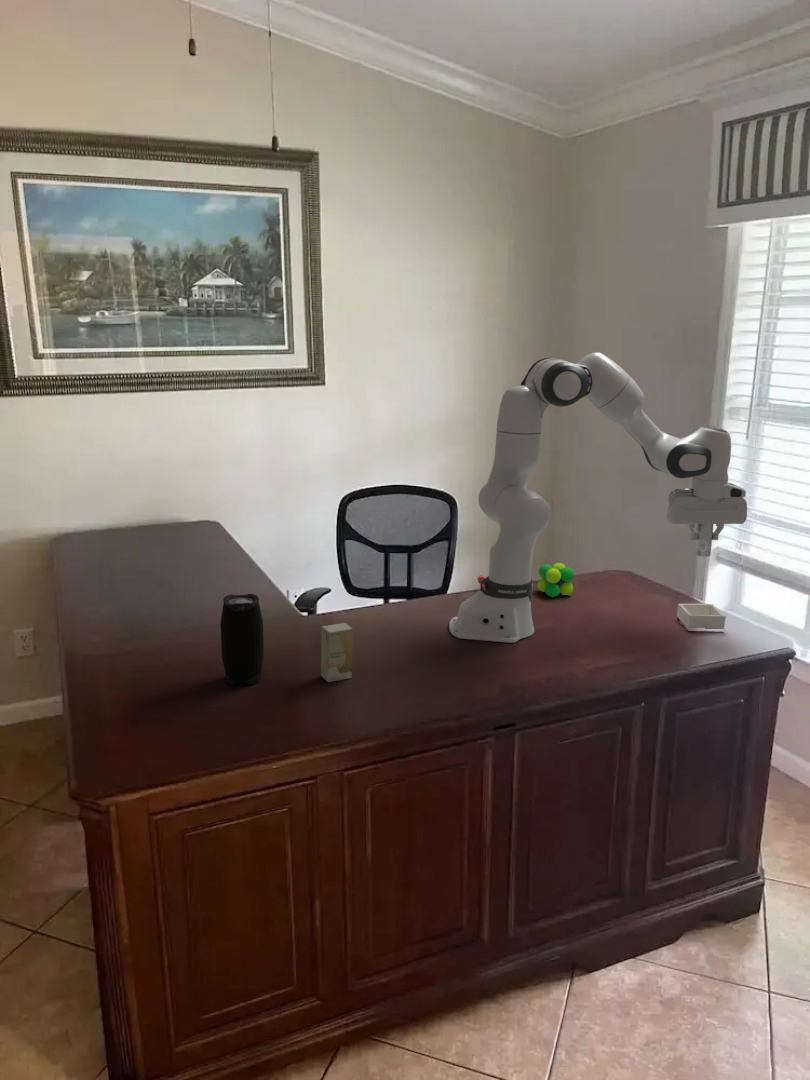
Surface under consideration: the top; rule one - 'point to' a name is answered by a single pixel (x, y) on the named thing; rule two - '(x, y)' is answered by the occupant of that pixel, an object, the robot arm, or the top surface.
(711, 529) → the cylinder
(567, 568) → the molecule model
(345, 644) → the skincare box
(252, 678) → the portable speaker
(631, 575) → the top surface
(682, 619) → the cream square tray
